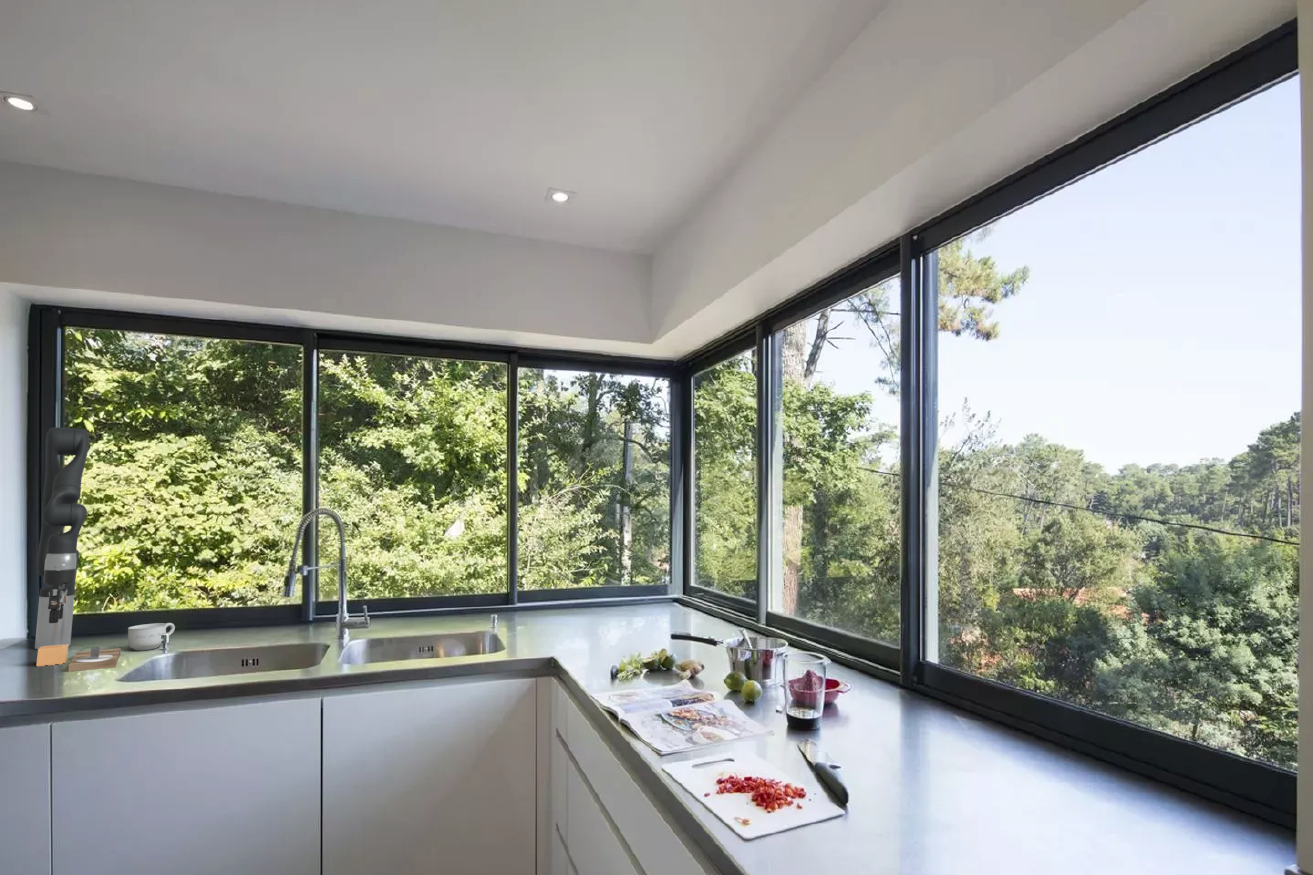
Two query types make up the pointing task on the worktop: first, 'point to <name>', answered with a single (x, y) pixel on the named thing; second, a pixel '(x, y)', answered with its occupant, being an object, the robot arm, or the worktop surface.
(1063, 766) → the worktop surface
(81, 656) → the shaft board
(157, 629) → the teacup
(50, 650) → the orange block
